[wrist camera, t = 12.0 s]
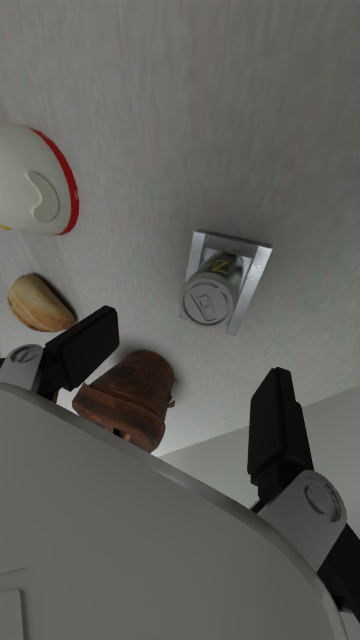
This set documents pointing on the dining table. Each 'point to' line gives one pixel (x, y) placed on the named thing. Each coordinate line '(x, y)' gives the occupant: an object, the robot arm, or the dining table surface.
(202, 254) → the grey tray
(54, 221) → the kitchen timer
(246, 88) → the dining table surface
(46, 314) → the bread roll
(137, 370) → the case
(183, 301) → the beer can
